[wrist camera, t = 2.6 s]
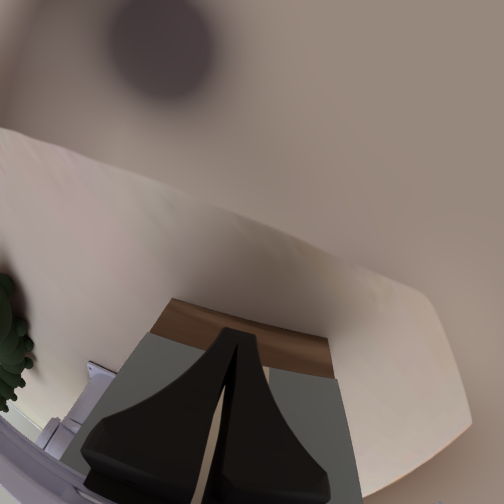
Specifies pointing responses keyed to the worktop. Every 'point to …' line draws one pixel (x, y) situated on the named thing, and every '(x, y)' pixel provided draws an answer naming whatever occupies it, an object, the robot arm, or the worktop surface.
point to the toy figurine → (11, 346)
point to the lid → (181, 359)
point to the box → (268, 337)
